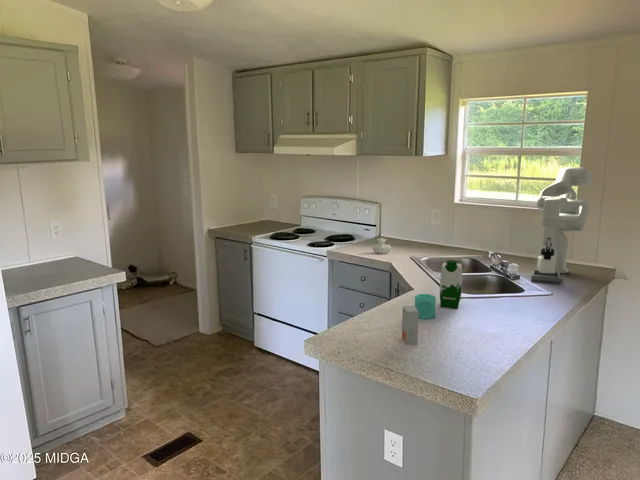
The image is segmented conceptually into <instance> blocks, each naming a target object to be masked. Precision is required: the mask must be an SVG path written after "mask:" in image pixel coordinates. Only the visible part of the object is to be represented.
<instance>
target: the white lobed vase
mask: <svg viewBox="0 0 640 480" xmlns="http://www.w3.org/2000/svg"><path fill="white" fill-rule="evenodd" d="M376 240H377V242H378V243H377V244H373V245H372V250H373V252H374V253H377V254H379V255H383V254H389V253H390V252H391V249H392V246H391V245H390V244H386V242H387V238H384V237H380V238H377V239H376Z"/></svg>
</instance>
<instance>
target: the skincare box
mask: <svg viewBox="0 0 640 480" xmlns="http://www.w3.org/2000/svg"><path fill="white" fill-rule="evenodd" d="M401 318H402V320H401V324H402V325H401V339H402V340H403V342H404V344H405V345H417V344H418V336H419V334H418V333H419V318H418V310H417V309H416V308H415V305H403V306H402V317H401Z"/></svg>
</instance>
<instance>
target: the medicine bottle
mask: <svg viewBox="0 0 640 480" xmlns="http://www.w3.org/2000/svg"><path fill="white" fill-rule="evenodd" d="M544 251H545V247H543V248H541V250H540V255H538V256H537V263H536V265H537V266H536V270H538V271H539V272H540V273H554V274H555V269H556V259H554V258H553V257H554V249H551V260H547V259H544Z"/></svg>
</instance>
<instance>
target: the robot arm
mask: <svg viewBox="0 0 640 480" xmlns="http://www.w3.org/2000/svg"><path fill="white" fill-rule="evenodd" d="M593 180H594V175H593V172H592V171H591V170H590V169H588V168H587V167H582V166H581V167H580V166H578V167H577V166H576V167H575V166H568V167H563V168H561V169H560V170H559V172H558V174H557V176H556V179H555V181H554V183H552V184H550V185H549V186H547V187H544V189H542V190H541V192H540V194H539V196H538V198H537V202H536V207H537V209H538V210H540V211H542V219H541V226H542V227H543V233H542V247H544V248H545V251H544V259H547V260H551V249H554V257H553V258H554V259H556V269H555V272H560V274H566V273H569V269H568V268H567V267H566V265H567V255H568V247H569V246H568V245H569V239H568V236H567V235H566V233H565V232H568V233H569V232H570V233H582V232H583V231H584V229H585V227H586V222H587V220H588V215H589V212H590V205H589V202H588V201H587V200H585V199H577V197H578V196H577V193H576V191H575V190H574V189H573V187H589V186H590V185H592V183H593Z"/></svg>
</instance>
